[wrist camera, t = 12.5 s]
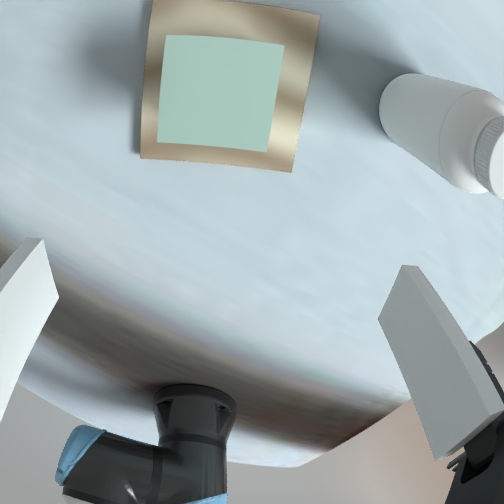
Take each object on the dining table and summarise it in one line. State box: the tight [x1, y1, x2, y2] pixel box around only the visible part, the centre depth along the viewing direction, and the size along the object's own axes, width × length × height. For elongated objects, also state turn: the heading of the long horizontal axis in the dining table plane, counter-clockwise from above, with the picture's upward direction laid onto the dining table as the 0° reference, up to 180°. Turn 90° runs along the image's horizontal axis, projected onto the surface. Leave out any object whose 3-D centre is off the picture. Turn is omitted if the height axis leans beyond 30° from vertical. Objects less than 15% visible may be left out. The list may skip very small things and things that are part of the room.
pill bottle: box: [379, 73, 504, 200], centre depth 20 cm, size 8×8×15 cm
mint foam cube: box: [157, 35, 285, 152], centre depth 20 cm, size 7×7×8 cm
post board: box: [140, 0, 320, 173], centre depth 21 cm, size 15×14×8 cm
